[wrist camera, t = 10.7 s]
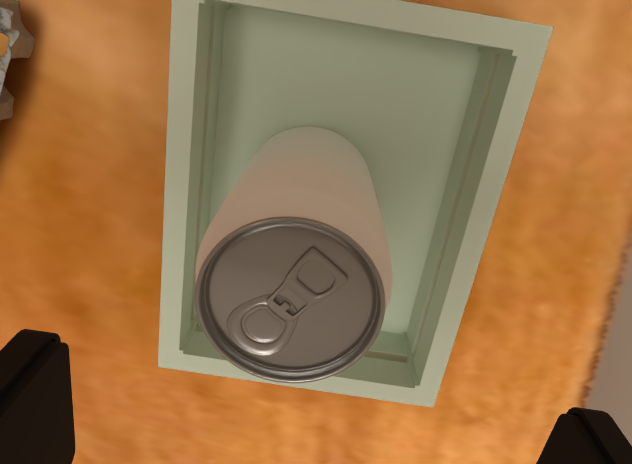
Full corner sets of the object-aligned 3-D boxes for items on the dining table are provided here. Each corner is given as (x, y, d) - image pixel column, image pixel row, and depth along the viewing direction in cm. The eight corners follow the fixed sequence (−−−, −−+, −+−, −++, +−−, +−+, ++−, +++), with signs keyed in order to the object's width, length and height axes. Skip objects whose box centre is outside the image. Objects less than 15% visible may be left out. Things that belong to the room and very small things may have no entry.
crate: (209, -23, 23) (173, -39, 17) (505, 27, 23) (553, 26, 18) (188, 308, 29) (157, 366, 24) (416, 343, 30) (433, 407, 25)
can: (221, 188, 26) (136, 308, 14) (305, 96, 24) (280, 153, 13) (311, 265, 27) (296, 427, 16) (397, 184, 25) (447, 305, 14)
